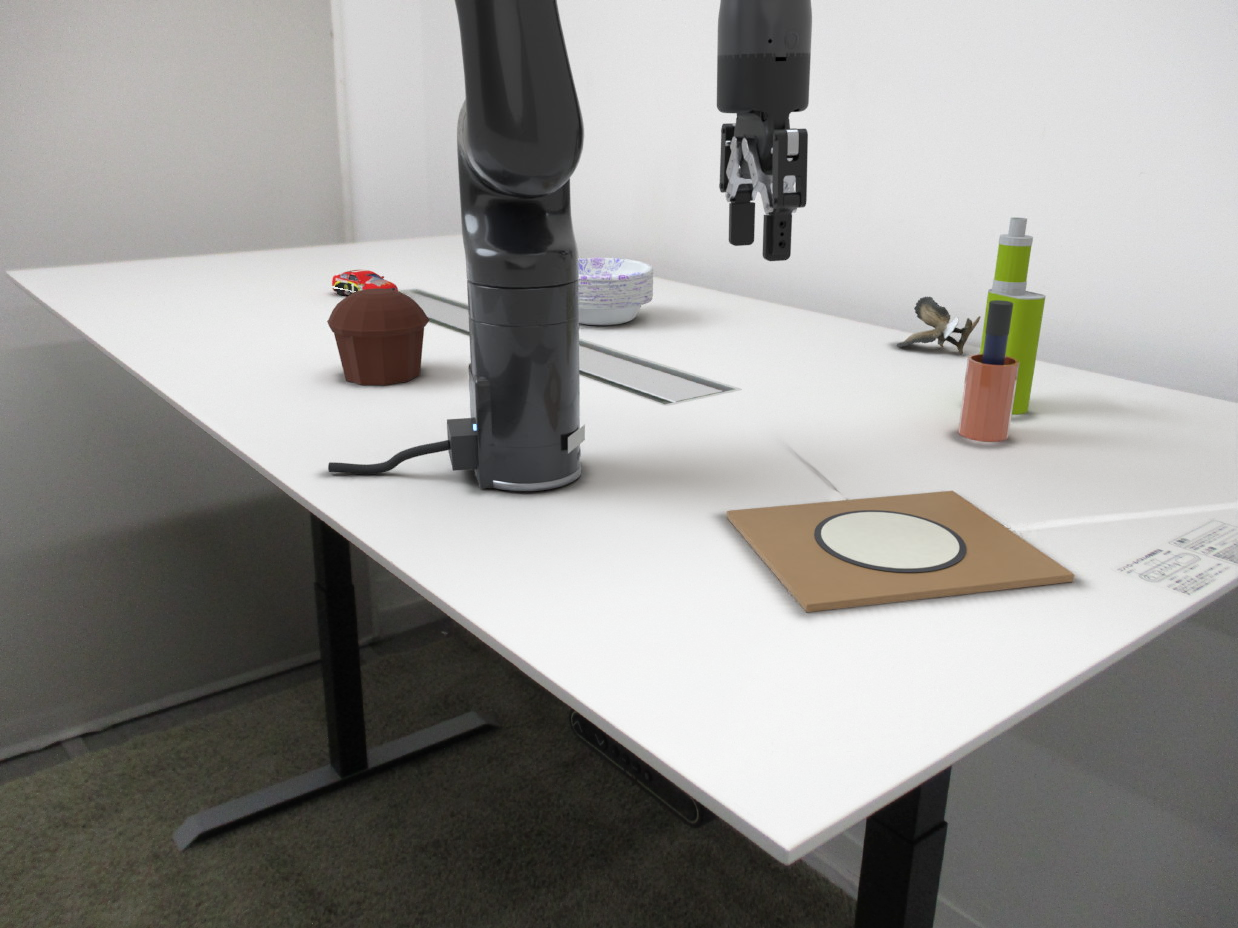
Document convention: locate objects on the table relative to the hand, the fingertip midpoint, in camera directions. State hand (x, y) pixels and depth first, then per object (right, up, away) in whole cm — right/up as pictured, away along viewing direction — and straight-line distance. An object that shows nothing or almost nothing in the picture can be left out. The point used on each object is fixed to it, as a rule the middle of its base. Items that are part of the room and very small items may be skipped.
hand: (758, 252), depth 87 cm
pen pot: (+24, -16, +12) cm, 31 cm away
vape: (+29, -13, +21) cm, 38 cm away
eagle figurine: (+29, -3, +46) cm, 55 cm away
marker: (+24, -15, +12) cm, 31 cm away
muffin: (-40, -8, +32) cm, 52 cm away
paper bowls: (-15, +3, +62) cm, 64 cm away
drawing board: (+8, -25, -12) cm, 28 cm away
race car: (-54, +9, +77) cm, 95 cm away
